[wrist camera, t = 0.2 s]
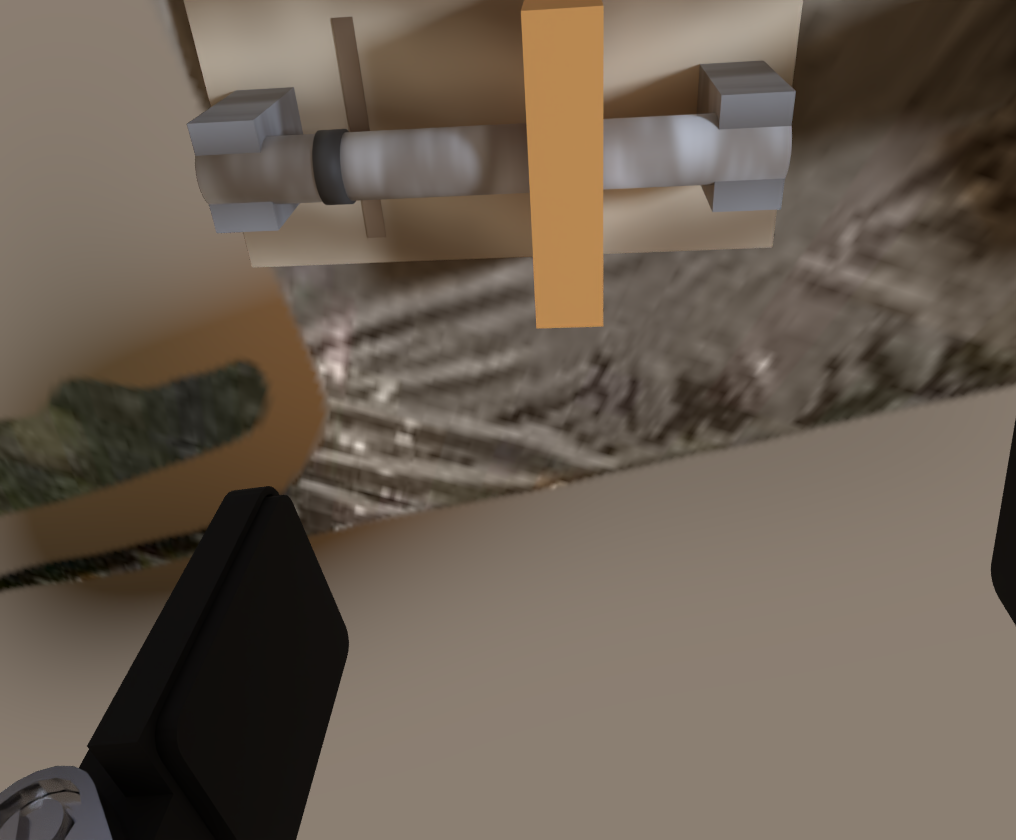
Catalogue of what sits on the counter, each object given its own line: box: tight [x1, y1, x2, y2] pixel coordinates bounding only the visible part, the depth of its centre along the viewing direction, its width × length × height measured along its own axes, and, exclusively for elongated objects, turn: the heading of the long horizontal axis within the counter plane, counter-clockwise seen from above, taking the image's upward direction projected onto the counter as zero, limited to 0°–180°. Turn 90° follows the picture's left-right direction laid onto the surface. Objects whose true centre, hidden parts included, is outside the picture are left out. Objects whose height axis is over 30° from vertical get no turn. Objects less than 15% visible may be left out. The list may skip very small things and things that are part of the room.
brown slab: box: [521, 0, 604, 328], centre depth 36 cm, size 13×3×8 cm, turn 4°
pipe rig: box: [184, 0, 803, 267], centre depth 39 cm, size 14×29×9 cm, turn 94°
